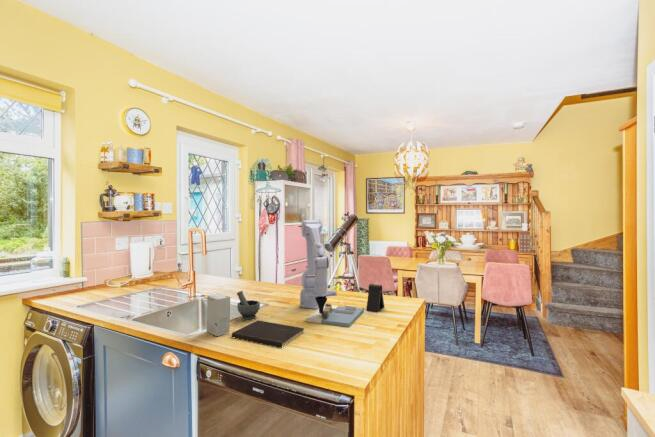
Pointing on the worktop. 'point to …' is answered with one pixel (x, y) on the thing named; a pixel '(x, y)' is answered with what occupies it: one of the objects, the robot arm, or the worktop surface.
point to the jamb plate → (319, 315)
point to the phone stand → (375, 298)
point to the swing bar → (326, 310)
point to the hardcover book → (268, 333)
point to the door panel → (343, 316)
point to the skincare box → (218, 314)
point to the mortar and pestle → (247, 307)
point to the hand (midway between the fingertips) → (321, 313)
